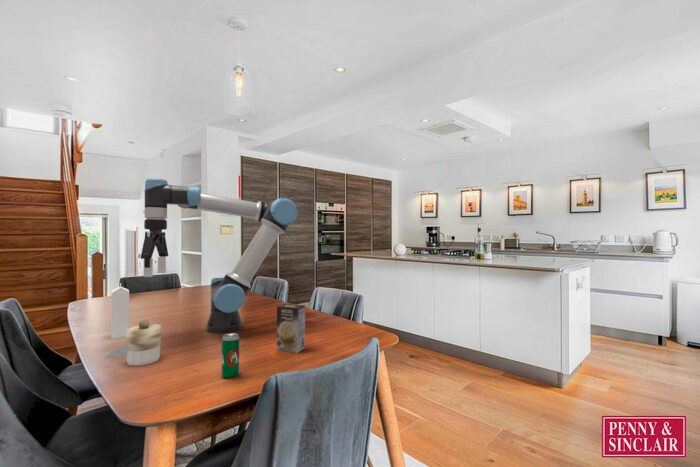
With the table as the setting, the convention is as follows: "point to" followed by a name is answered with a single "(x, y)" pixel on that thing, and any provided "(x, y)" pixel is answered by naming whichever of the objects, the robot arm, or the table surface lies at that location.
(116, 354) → the mat
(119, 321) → the milk
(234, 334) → the soda can
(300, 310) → the coffee box
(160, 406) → the table surface
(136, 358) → the bowl
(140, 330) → the beige round piece
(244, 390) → the table surface
